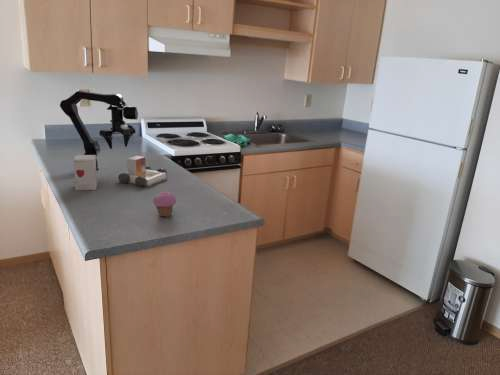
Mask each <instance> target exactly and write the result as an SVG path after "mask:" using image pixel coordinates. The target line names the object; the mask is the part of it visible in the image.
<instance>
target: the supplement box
mask: <svg viewBox="0 0 500 375" xmlns="http://www.w3.org/2000/svg"><path fill="white" fill-rule="evenodd" d="M96 158H97V157H96V155H83V154H75V156H74V158H73V170H74V171H73V172H74V186H75V191H96V190H97V186H98V176H97V170H96Z"/></svg>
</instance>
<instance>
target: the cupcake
mask: <svg viewBox="0 0 500 375" xmlns="http://www.w3.org/2000/svg"><path fill="white" fill-rule="evenodd" d="M152 202H153V205H154V206H155V208H156V211H157V213H158V215H159V216H160V217H171V214H172V213H173V206H174V205H175V204H176V202H177V198H176V195H174V194H173V193H172V192H171V191H161V192H158V193H157V194H156V195H154V197H153V200H152Z"/></svg>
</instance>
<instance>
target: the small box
mask: <svg viewBox="0 0 500 375" xmlns="http://www.w3.org/2000/svg"><path fill="white" fill-rule="evenodd" d="M126 163H127V166H126V168H127V172H128V175H133V176H138V177H139V176H144V177H146V165H147V164H146V157H145V156H141V155H135V156H132V157H127V158H126Z"/></svg>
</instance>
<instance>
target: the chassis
mask: <svg viewBox="0 0 500 375" xmlns="http://www.w3.org/2000/svg"><path fill="white" fill-rule="evenodd" d="M167 176H168V171H167V169H166V168H164V167H161V168H159V169H157V170H152V168H151V166H150V165H147V164H146V177H144V176H139V177H138V176H133V175H128V172H123V173H120V174H119V175H118V182H120V183H121V184H133V185H136V186H137V187H139V188H142V187H147V188H148V187H152V186H154V185H156V184H158V183H161V182H163V181H165V180H167Z"/></svg>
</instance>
